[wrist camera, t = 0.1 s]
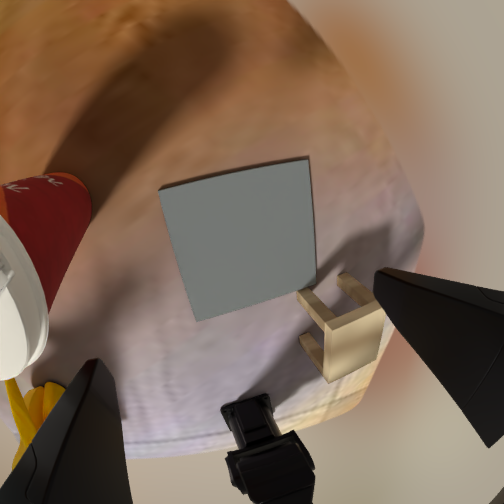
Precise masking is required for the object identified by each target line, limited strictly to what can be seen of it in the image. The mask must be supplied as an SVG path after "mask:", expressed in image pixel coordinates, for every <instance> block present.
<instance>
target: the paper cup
mask: <svg viewBox="0 0 504 504" xmlns="http://www.w3.org/2000/svg"><path fill="white" fill-rule="evenodd" d="M91 214H92V203H91V198H90V195H89V192H88V190H87V188H86V187H85V185H84V184H83V183H82V182H81V181H80V180H79V179H78V178H77V177H75V176H73V175H71V174H68V173H64V172H56V173H49V174H44V175H39V176H34V177H30V178H26V179H22V180H18V181H14V182H10V183H6V184H3V185H0V381H1V380H8V379H11V378H14V377H16V376H17V375H18V374H20V373H21V372H22V371H23V370H24V368H25V367H27V366H28V365H30V364H32V363H33V362H34V361H36V360H37V359H38V357H39V356H40V355H41V354H42V352H43V350H44V348H45V345H46V342H47V337H48V330H49V318H48V314H49V311H50V309H51V306H52V304H53V301H54V299H55V296H56V294H57V291H58V289H59V287H60V284H61V282H62V280H63V277H64V275H65V273H66V271H67V269H68V267H69V264H70V262H71V260H72V258H73V256H74V254H75V252H76V250H77V248H78V246H79V244H80V242H81V240H82V238H83V236H84V234H85V232H86V229H87V227H88V225H89V222H90V219H91Z"/></svg>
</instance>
